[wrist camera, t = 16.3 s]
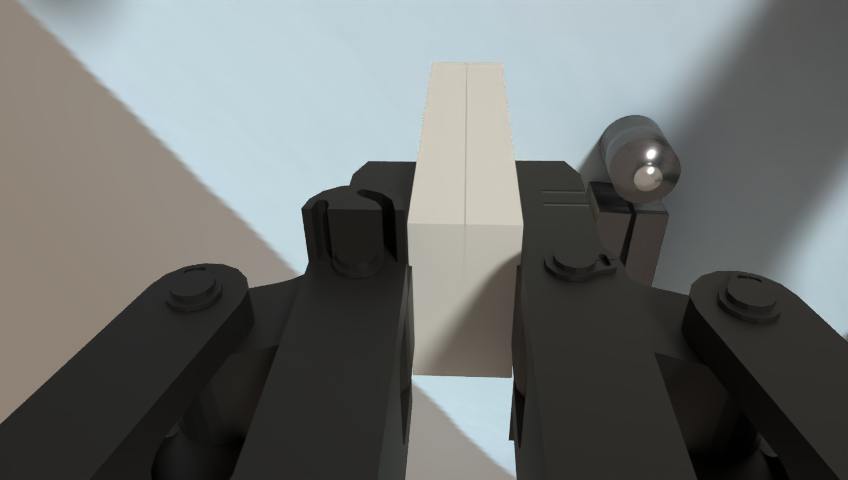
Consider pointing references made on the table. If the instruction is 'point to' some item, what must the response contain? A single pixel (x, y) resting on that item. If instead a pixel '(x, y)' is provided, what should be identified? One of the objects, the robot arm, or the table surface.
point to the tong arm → (609, 215)
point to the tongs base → (640, 188)
